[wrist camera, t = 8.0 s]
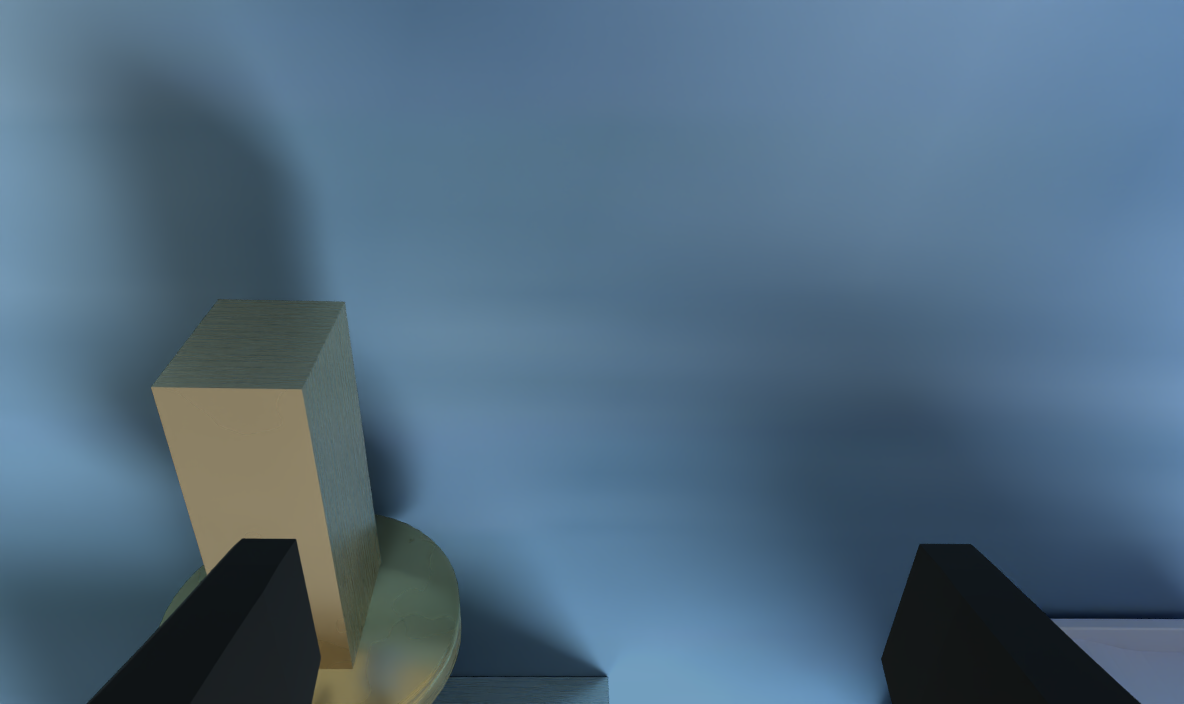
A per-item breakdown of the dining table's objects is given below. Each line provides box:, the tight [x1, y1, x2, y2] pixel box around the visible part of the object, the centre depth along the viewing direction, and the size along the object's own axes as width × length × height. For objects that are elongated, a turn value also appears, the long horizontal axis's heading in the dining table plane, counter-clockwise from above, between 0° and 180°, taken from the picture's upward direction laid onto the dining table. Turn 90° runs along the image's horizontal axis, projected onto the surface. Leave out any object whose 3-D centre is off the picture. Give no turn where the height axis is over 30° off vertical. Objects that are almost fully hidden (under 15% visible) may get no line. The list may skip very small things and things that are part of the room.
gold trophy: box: [151, 299, 461, 704], centre depth 18 cm, size 6×14×6 cm, turn 178°
